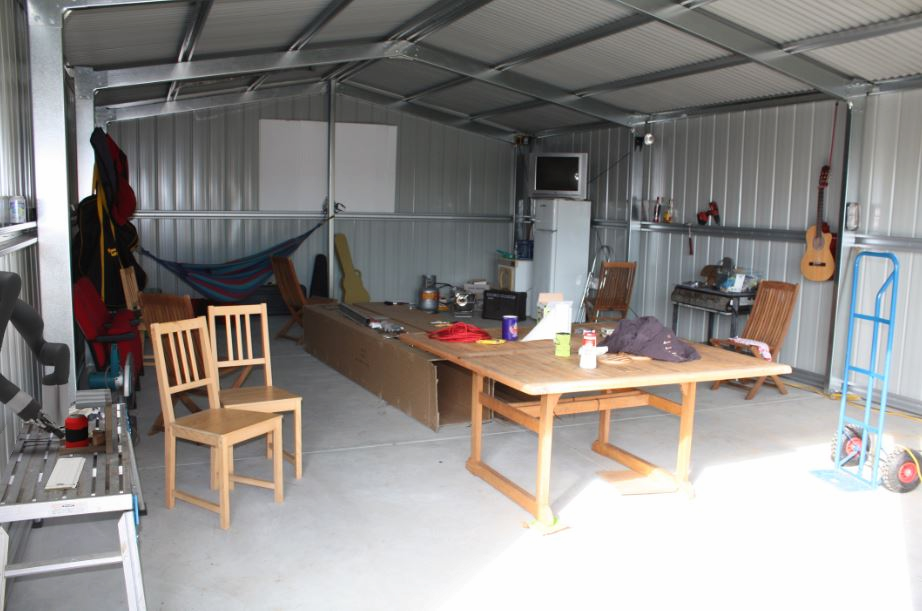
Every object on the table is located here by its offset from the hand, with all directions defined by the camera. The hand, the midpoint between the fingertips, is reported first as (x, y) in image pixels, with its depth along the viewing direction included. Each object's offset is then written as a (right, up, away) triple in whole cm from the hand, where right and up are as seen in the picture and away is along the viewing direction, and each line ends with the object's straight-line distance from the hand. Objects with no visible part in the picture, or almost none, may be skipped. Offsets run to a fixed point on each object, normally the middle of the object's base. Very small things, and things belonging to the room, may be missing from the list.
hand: (63, 436), depth 279 cm
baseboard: (+14, -9, -24) cm, 29 cm away
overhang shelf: (+7, -5, +4) cm, 10 cm away
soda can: (+4, -5, +2) cm, 7 cm away
